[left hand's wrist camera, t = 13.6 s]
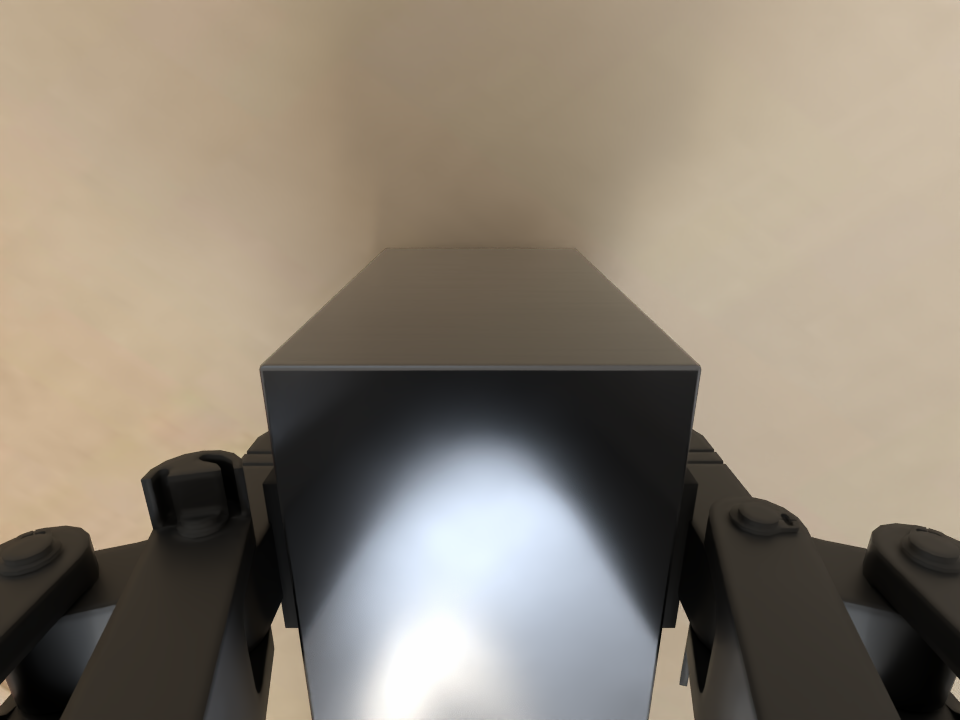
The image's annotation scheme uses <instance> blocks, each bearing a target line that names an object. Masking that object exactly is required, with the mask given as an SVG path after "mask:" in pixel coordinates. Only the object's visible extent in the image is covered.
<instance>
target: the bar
mask: <svg viewBox="0 0 960 720" xmlns="http://www.w3.org/2000/svg"><path fill="white" fill-rule="evenodd" d="M700 374H701V367H700V365H699V364H698V363H697V362H696V361H695V360H694V359H693V358H692V357H690V356H689V355H688V354H687V353H686V352H685V351H684V350H683V349H682V348H681V347H680V346H679V345H678V344H677V343H676V342H674V341H673V340H672V339H671V338H670V337H669V336H668V335H667V334H666V333H665V332H664V331H663V330H662V329H661V328H660V327H658V326H657V325H656V324H655V323H654V322H653V321H652V320H651V319H650V318H649V317H648V316H647V315H646V314H645V313H644V312H642V311H641V310H640V309H639V308H638V307H637V306H636V305H635V304H634V303H633V302H632V301H631V300H630V299H629V298H628V297H626V296H625V295H624V294H623V293H622V292H621V291H620V290H619V289H618V288H617V287H616V286H615V285H614V284H613V283H612V282H611V281H609V280H608V279H607V278H606V277H605V276H604V275H603V274H602V273H601V272H600V271H599V270H598V269H597V268H596V267H595V266H593V265H592V264H591V263H590V262H589V261H588V260H587V259H586V258H585V257H584V256H583V255H582V254H581V253H580V252H579V251H577V250H576V249H575V248H386V249H384V250H383V251H382V252H381V253H380V254H379V255H378V256H377V257H376V258H375V259H374V260H373V261H371V262H370V263H369V264H368V265H367V266H366V267H365V268H364V269H363V270H362V271H361V272H360V273H359V274H358V275H357V276H355V277H354V278H353V279H352V280H351V281H350V282H349V283H348V284H347V285H346V286H345V287H344V288H343V289H342V290H341V291H339V292H338V293H337V294H336V295H335V296H334V297H333V298H332V299H331V300H330V301H329V302H328V303H327V304H326V305H325V306H323V307H322V308H321V309H320V310H319V311H318V312H317V313H316V314H315V315H314V316H313V317H312V318H311V319H310V320H309V321H307V322H306V323H305V324H304V325H303V326H302V327H301V328H300V329H299V330H298V331H297V332H296V333H295V334H294V335H293V336H291V337H290V338H289V339H288V340H287V341H286V342H285V343H284V344H283V345H282V346H281V347H280V348H279V349H278V350H277V351H275V352H274V353H273V354H272V355H271V356H270V357H269V358H268V359H267V360H266V361H265V362H264V363H263V364H262V365H261V366H260V376H261V383H262V390H263V396H264V403H265V409H266V416H267V423H268V429H269V436H270V443H271V449H272V456H273V463H274V469H275V476H276V483H277V489H278V496H279V503H280V509H281V516H282V523H283V529H284V536H285V543H286V549H287V556H288V563H289V569H290V576H291V583H292V589H293V596H294V603H295V609H296V616H297V623H298V629H299V636H300V643H301V649H302V656H303V663H304V669H305V676H306V683H307V689H308V696H309V703H310V709H311V716H312V720H648V719H649V713H650V706H651V699H652V693H653V686H654V679H655V673H656V666H657V659H658V653H659V646H660V640H661V633H662V626H663V620H664V613H665V606H666V600H667V593H668V587H669V580H670V573H671V567H672V560H673V553H674V547H675V540H676V533H677V527H678V520H679V514H680V507H681V500H682V494H683V487H684V480H685V474H686V467H687V460H688V454H689V447H690V441H691V434H692V427H693V421H694V414H695V407H696V401H697V394H698V387H699V381H700Z"/></svg>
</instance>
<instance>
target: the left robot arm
mask: <svg viewBox="0 0 960 720" xmlns="http://www.w3.org/2000/svg"><path fill="white" fill-rule="evenodd" d="M141 483H142V487H143V491H144V495H145V499H146V503H147V507H148V510H149V514H150V518H151V522H152V526H153V531H152V533H151V535H150V537H149V539H148V540H146V541H142V542H138V543H133V544H128V545H123V546H118V547H113V548H108V549H103V550H98V551H94V548H93V545H92V542H91V538H90V535H89V534H88V533H87V532H86V531H84V530H83V529H82V528H79V527H72V526H59V527H50V528H42V529H38V530H36V531H34V532H33V531H30V532H27V533H24V534H21V535H19V536H18V537H16V538H14V539H12V540H10V541H8V542H5V543H3V544H1V545H0V684H1V683H2V682H3V681H4V680H5V679H6V681H7V684H8V686H9V689H10V691H11V693H12V694H11V695H10V696H9V697H8V698H7V699H6V700H5V702H4V703H3V704H2V705H1V706H0V720H266V712H267V704H268V696H269V688H270V680H271V672H272V664H273V656H274V643H273V636H272V630H271V624H272V621H273V619H274V617H275V615H276V612H277V610H278V608H279V606H280V603H282V609H283V615H284V621H285V627H286V628H298V623H297V616H296V609H295V603H294V596H293V589H292V583H291V576H290V569H289V563H288V556H287V549H286V543H285V536H284V529H283V523H282V516H281V509H280V503H279V496H278V489H277V483H276V476H275V469H274V463H273V456H272V449H271V443H270V436H269V431H268V432H266V433H265V434H263V435H261V436H260V437H258V438H257V439H256V441H255V442H254V443H253V445H252V446H251V447H250V448H249V450H248V451H247V454H245V455H244V456H243V457H242V458H240V457H238V456H237V455H236V454H234V453H230V452H226V451H221V450H213V451H199V452H194V453H189V454H184V455H181V456H178V457H176V458H173V459H170V460H167V461H165V462H163V463H161V464H160V465H158V466H156V467H155V468H153V469H151V470H150V471H149V472H148V473H147V474H146V475H145V476H144V477H143V478H142V479H141ZM679 600H680V601H681V604H682V606H683V608H684V610H685V613H686V615H687V617H688V619H689V621H690V625H689V630H688V636H687V642H686V648H685V653H684V659H683V665H682V671H681V677H680V684H679V685H683V686H687V683H688V677H689V678H690V686H691V694H692V702H693V710H694V718H695V720H960V702H959V701H958V700H957V699H956V698H955V696H954V695H953V694H952V693H951V692H950V691H951V688H952V686H953V684H954V681H955V679H956V676H957V677H958V678H959V679H960V541H958V540H955V539H953V538H951V537H949V536H946V535H945V534H943V533H941V532H939V531H936V530H933V529H930V528H929V529H926V527H922V526H917V525H906V524H898V523H894V524H887V525H880V526H879V527H878V528H877V529H875V530H874V531H873V532H872V534H871V538H870V541H869V544H868V548H867V549H865V548H860V547H855V546H850V545H845V544H840V543H835V542H830V541H825V540H821V539H817V538H813V537H811V536H810V534H809V532H808V530H807V528H806V527H805V526H804V524H803V523H802V522H801V521H800V519H799V518H798V517H796V516H795V515H794V514H792V513H791V512H789V511H788V510H786V509H785V508H783V507H781V506H778V505H776V504H774V503H771V502H769V501H766V500H762V499H758V498H753V497H752V496H751V495H750V494H749V493H748V491H747V490H746V489H745V488H744V486H743V485H742V484H741V483H740V481H739V480H738V479H737V478H736V476H735V475H734V474H733V473H732V471H731V470H730V469H729V468H728V466H727V465H726V464H723V460H722V459H721V458H720V456H719V455H718V454H717V453H716V452H714V449H713V448H712V446H711V445H710V444H709V443H708V441H707V440H706V439H705V438H704V436H703V435H701V434H699V433H698V432H696V431H694V430H693V429H692V434H691V441H690V447H689V454H688V460H687V467H686V474H685V480H684V487H683V494H682V500H681V507H680V514H679V520H678V527H677V533H676V540H675V547H674V553H673V560H672V567H671V573H670V580H669V587H668V593H667V600H666V606H665V613H664V620H663V626H662V628H675V625H676V619H677V613H678V607H679Z"/></svg>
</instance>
